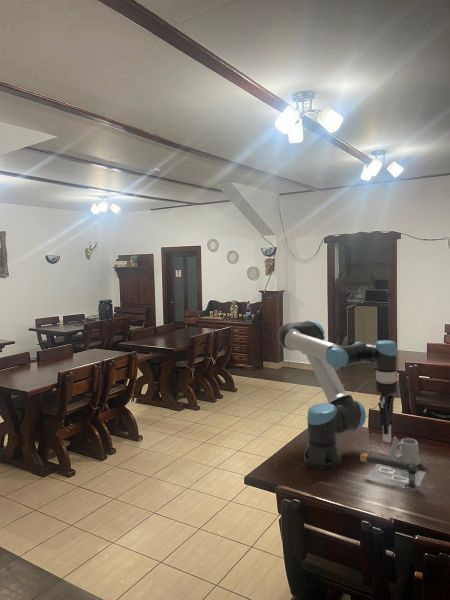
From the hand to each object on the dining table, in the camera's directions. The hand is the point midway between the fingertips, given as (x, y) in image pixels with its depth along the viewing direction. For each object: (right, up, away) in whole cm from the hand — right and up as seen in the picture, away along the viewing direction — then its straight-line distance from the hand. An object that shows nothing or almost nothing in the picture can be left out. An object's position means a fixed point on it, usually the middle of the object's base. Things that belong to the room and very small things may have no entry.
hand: (386, 441), depth 175 cm
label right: (+3, -13, -5) cm, 14 cm away
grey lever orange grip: (-2, -7, -6) cm, 10 cm away
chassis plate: (+3, -14, -1) cm, 14 cm away
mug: (+10, -13, +9) cm, 19 cm away
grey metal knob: (+5, -14, -11) cm, 19 cm away
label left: (+1, -13, +2) cm, 13 cm away
